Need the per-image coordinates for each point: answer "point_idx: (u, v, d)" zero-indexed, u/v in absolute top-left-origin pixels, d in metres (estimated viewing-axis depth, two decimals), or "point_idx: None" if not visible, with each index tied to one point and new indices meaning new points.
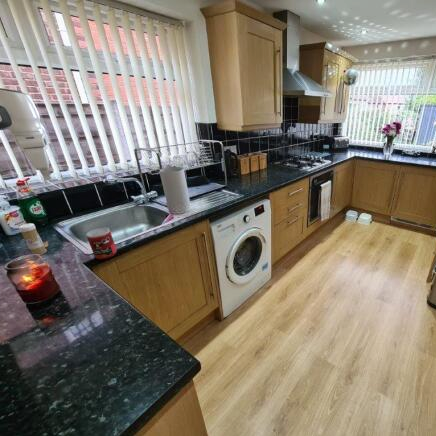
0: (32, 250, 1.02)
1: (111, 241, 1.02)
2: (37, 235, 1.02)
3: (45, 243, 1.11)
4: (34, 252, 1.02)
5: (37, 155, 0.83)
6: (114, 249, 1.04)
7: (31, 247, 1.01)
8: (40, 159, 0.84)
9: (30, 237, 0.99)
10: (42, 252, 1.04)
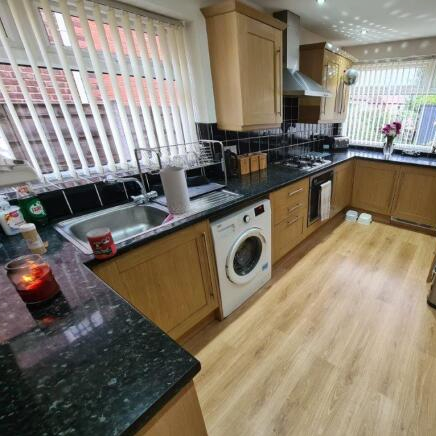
0: (32, 250, 1.02)
1: (111, 241, 1.02)
2: (37, 235, 1.02)
3: (45, 243, 1.11)
4: (34, 252, 1.02)
5: None
6: (114, 249, 1.04)
7: (31, 247, 1.01)
8: None
9: (30, 237, 0.99)
10: (42, 252, 1.04)
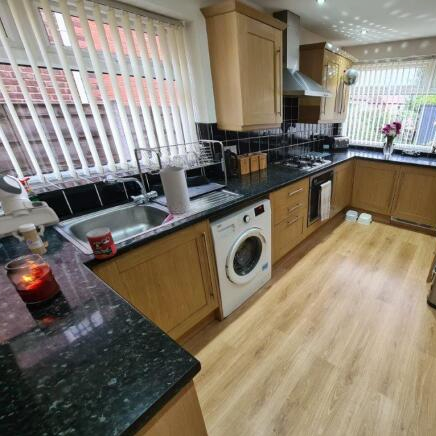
0: (32, 250, 1.02)
1: (111, 241, 1.02)
2: (37, 235, 1.02)
3: (45, 243, 1.11)
4: (34, 252, 1.02)
5: None
6: (114, 249, 1.04)
7: (31, 247, 1.01)
8: None
9: (30, 237, 0.99)
10: (42, 252, 1.04)
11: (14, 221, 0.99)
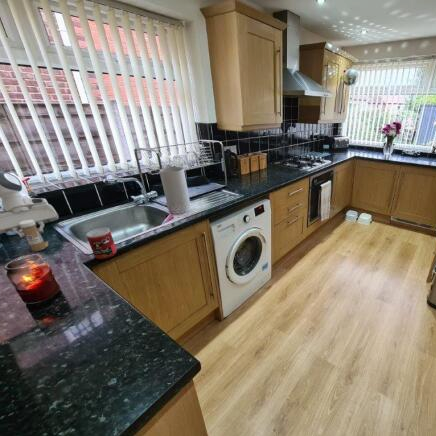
0: (32, 245, 1.04)
1: (111, 241, 1.02)
2: (37, 231, 1.04)
3: (45, 243, 1.11)
4: (34, 247, 1.04)
5: None
6: (114, 249, 1.04)
7: (31, 243, 1.03)
8: None
9: (30, 232, 1.02)
10: (42, 248, 1.06)
11: (14, 217, 1.01)
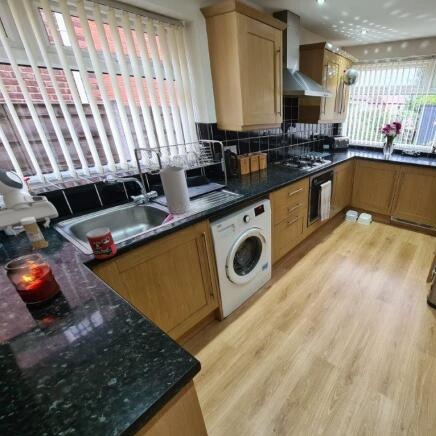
0: (33, 242, 1.07)
1: (111, 241, 1.02)
2: (37, 228, 1.07)
3: None
4: (34, 244, 1.07)
5: None
6: (114, 249, 1.04)
7: (32, 239, 1.06)
8: None
9: (31, 229, 1.05)
10: (42, 244, 1.09)
11: (15, 214, 1.04)
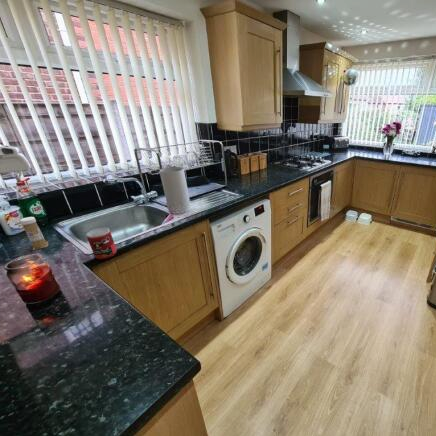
0: (33, 242, 1.07)
1: (111, 241, 1.02)
2: (37, 228, 1.07)
3: None
4: (34, 244, 1.07)
5: (25, 157, 1.07)
6: (114, 249, 1.04)
7: (32, 239, 1.06)
8: (27, 160, 1.07)
9: (31, 229, 1.05)
10: (42, 244, 1.09)
11: None
